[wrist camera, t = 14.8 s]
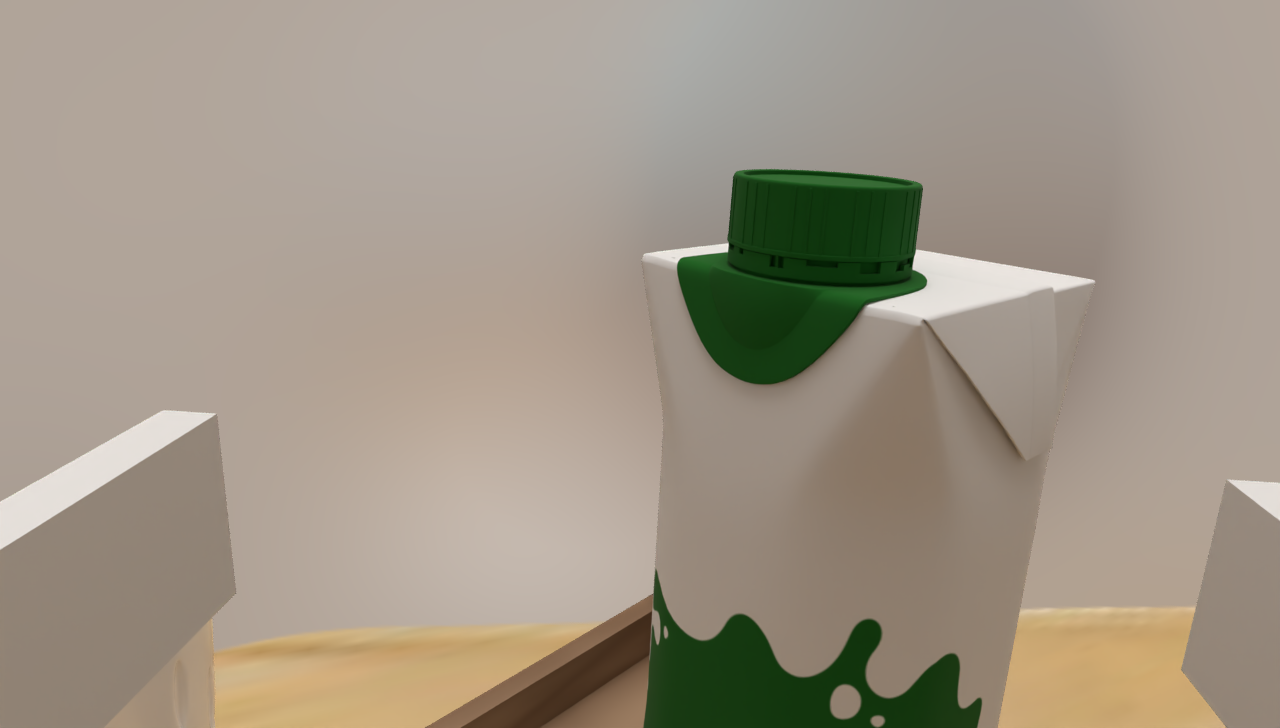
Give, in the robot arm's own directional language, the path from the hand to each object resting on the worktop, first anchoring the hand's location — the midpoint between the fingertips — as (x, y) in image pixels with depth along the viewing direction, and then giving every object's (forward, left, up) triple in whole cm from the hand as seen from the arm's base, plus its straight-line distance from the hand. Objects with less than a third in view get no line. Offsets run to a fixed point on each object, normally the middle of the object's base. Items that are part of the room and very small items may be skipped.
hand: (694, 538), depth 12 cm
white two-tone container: (+3, -11, -16) cm, 20 cm away
